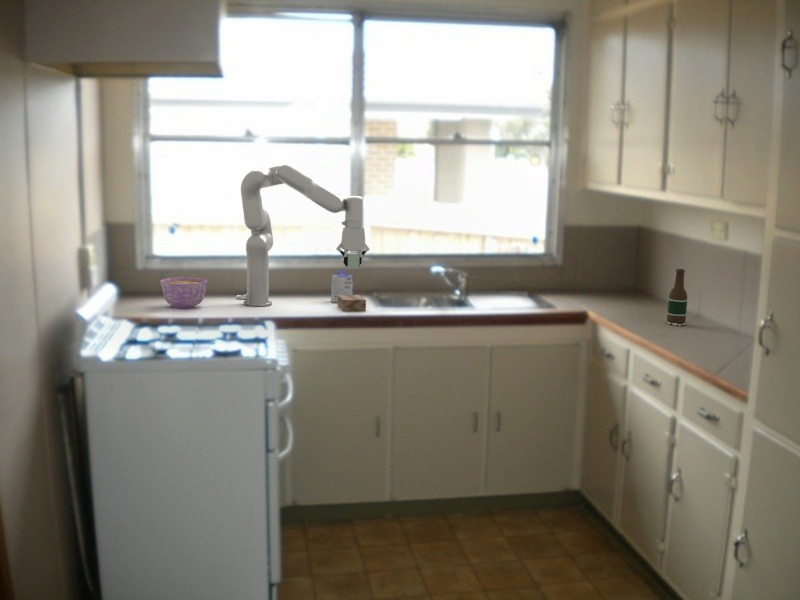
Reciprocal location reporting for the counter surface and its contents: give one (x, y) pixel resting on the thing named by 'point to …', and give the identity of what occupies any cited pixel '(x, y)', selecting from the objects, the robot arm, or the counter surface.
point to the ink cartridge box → (341, 285)
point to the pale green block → (353, 260)
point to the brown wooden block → (351, 303)
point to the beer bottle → (677, 300)
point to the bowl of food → (183, 291)
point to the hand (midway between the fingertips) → (352, 265)
